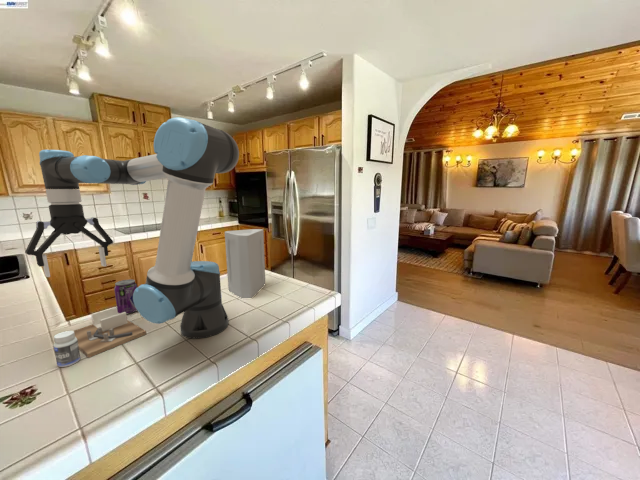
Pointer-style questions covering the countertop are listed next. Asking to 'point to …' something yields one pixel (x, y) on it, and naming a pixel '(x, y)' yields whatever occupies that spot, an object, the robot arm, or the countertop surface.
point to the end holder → (109, 319)
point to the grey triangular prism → (245, 261)
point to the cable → (112, 336)
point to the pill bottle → (66, 349)
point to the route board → (105, 338)
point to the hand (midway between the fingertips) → (77, 270)
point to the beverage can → (125, 296)
